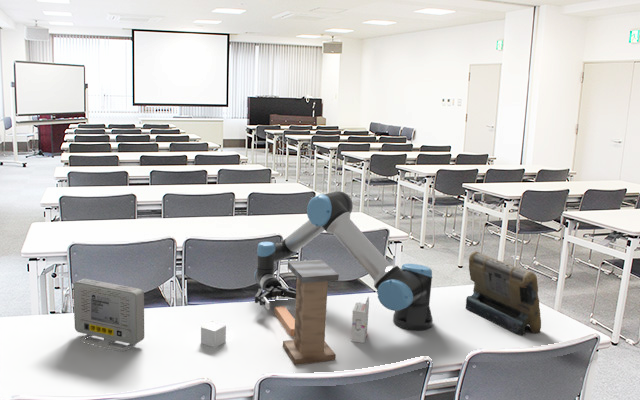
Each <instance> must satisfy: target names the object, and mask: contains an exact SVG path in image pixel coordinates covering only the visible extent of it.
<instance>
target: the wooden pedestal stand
mask: <svg viewBox="0 0 640 400" xmlns="http://www.w3.org/2000/svg"><path fill="white" fill-rule="evenodd" d="M287 269H288V270H290V271H291V273H292V274H293V275H294V276H295V277H296V285H295V287H296V288H295V289H296V299H295V310H294V312H295V313H294V319H295V331H294V336H293V339H288V340H287V339H286V340H282V347H283V349H284V351H285V352H286V353H287V355H288V357H289V358H290V360H291V361H292V363H293V364H294V366H300V365H306V364H307V365H309V364H314V363H323V362H330V361H336V360H337V359H336V353H335V352H334V350H333V349H332V348H331V346H329V344H328V343H327V342H326V341H325V340H326V324H327V323H326V322H327V321H326V320H327V306H328V305H327V303H328V284H329V282H337V281H339V273H337V272H336V271H335V270H334V269H333V268H332V267H331V266H329V265H328V264H327V263H326V262H324V260H322V259H315V260H313V259H311V260H297V261H287Z"/></svg>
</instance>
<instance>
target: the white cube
mask: <svg viewBox="0 0 640 400" xmlns="http://www.w3.org/2000/svg"><path fill="white" fill-rule="evenodd" d="M226 335H227V326H226V325H225V324H223V323H218V322H215V321H214V320H213V321H211V322H209V323H207V324H205V325H203V326H201V327H200V344H202V345H206V346H209V347H211V348H214V349H215V348H217V347H218V346H220V345H222V344H223V343H225V342H226V341H227V340H226V339H227V336H226Z"/></svg>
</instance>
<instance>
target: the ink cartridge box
mask: <svg viewBox="0 0 640 400" xmlns="http://www.w3.org/2000/svg"><path fill="white" fill-rule="evenodd" d="M369 305H370V299H369V296H367V299H366V300H365V303H361V302H355V304H354V307H353V309H352V318H351V320H352V321H351V322H352V323H351V338H350V339H351V340H350V341H351V342H353V343H360V344H364V343H365V341H366V339H367V338H366V337H367V333H368V326H369V325H368V323H369V309H370V306H369Z"/></svg>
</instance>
